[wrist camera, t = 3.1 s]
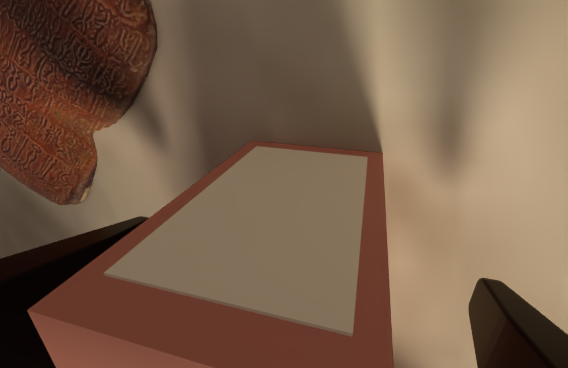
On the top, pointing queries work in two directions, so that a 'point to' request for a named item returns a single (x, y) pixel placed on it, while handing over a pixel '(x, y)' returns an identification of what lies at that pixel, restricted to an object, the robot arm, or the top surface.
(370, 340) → the block
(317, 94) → the top surface
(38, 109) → the wooden tablet
